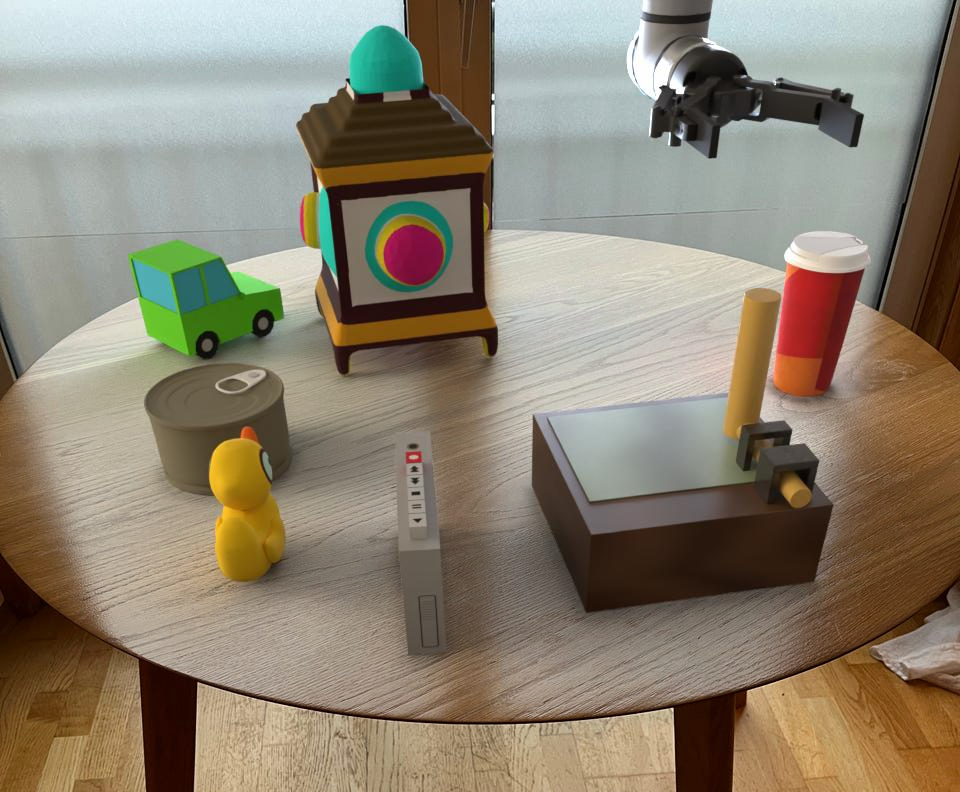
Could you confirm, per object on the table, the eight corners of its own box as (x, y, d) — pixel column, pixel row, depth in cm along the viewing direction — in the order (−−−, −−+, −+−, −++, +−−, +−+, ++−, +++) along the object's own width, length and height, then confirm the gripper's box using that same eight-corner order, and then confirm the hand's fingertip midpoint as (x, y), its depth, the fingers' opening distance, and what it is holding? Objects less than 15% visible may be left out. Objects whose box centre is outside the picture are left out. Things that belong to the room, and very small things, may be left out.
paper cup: (820, 363, 104) (850, 225, 95) (854, 397, 98) (889, 254, 89) (749, 370, 103) (772, 232, 94) (778, 405, 97) (806, 261, 88)
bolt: (748, 423, 79) (772, 286, 72) (816, 506, 70) (851, 358, 63) (717, 427, 79) (738, 289, 72) (781, 510, 70) (812, 362, 63)
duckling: (233, 520, 84) (210, 412, 77) (297, 518, 84) (279, 411, 77) (208, 604, 75) (180, 491, 68) (279, 602, 75) (257, 489, 68)
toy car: (295, 330, 113) (282, 240, 106) (197, 369, 106) (176, 275, 99) (241, 306, 118) (226, 220, 112) (145, 342, 111) (122, 252, 105)
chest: (726, 462, 89) (744, 355, 82) (814, 581, 76) (843, 465, 69) (531, 486, 87) (533, 377, 80) (586, 613, 73) (593, 495, 67)
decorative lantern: (514, 363, 105) (515, 37, 86) (328, 387, 102) (285, 53, 82) (469, 293, 120) (461, 1, 100) (306, 312, 117) (265, 14, 97)
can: (134, 467, 90) (115, 398, 86) (237, 417, 97) (224, 350, 93) (218, 512, 85) (202, 440, 80) (321, 455, 91) (311, 386, 87)
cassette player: (403, 529, 82) (393, 421, 75) (435, 527, 82) (429, 419, 76) (408, 654, 70) (397, 538, 64) (446, 652, 70) (439, 536, 64)
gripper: (805, 115, 109) (903, 170, 93) (585, 131, 106) (649, 191, 90) (819, 36, 104) (925, 80, 88) (589, 51, 101) (657, 99, 85)
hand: (786, 136), depth 89 cm, fingers open, 13 cm apart
